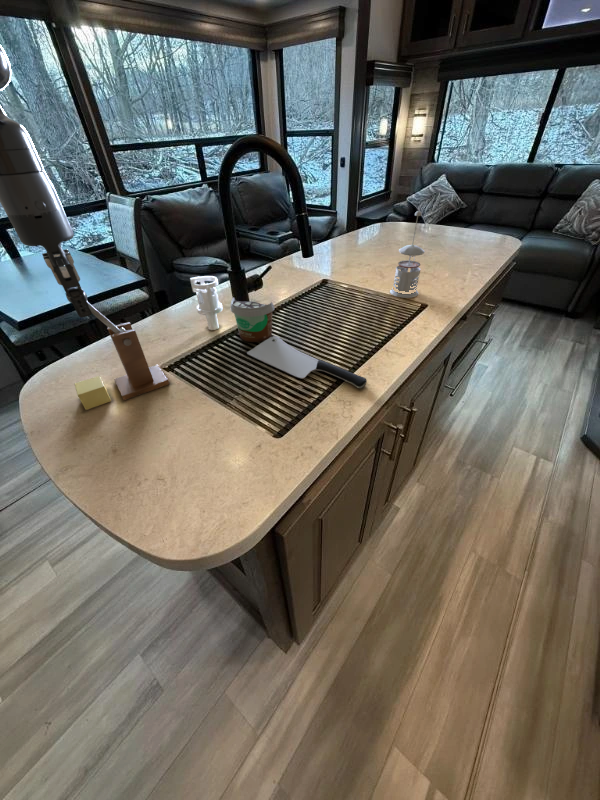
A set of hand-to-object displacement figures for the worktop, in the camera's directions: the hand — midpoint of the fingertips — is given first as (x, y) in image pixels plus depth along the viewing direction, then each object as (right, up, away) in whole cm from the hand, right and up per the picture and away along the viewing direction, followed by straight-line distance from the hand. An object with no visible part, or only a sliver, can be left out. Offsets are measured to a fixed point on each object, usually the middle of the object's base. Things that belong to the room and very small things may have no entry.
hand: (84, 311), depth 62 cm
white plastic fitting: (+15, +5, +35) cm, 39 cm away
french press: (+77, +21, +54) cm, 97 cm away
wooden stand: (+4, -13, +14) cm, 19 cm away
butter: (-4, -17, +10) cm, 19 cm away
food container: (+27, 0, +30) cm, 40 cm away
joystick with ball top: (+1, -2, +2) cm, 3 cm away
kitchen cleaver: (+42, -9, +18) cm, 46 cm away
